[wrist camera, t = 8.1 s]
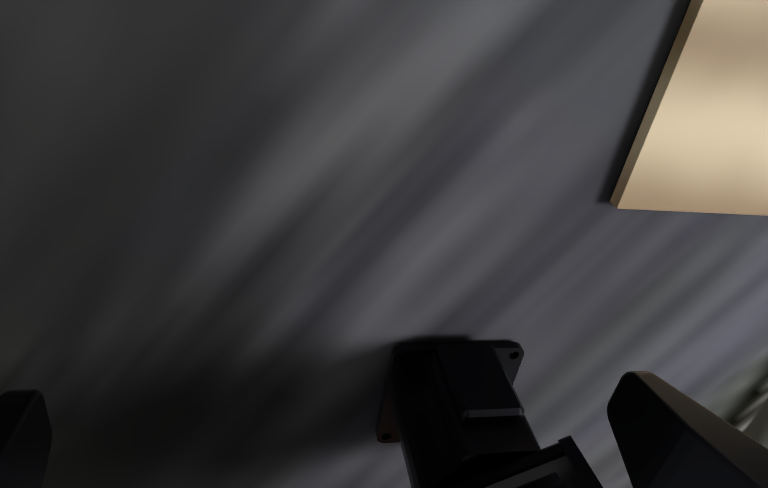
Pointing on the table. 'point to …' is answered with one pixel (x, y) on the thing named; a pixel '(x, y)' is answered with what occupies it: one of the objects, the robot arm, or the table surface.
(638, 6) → the table surface
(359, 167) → the table surface
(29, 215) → the table surface
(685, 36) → the mat
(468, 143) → the table surface
